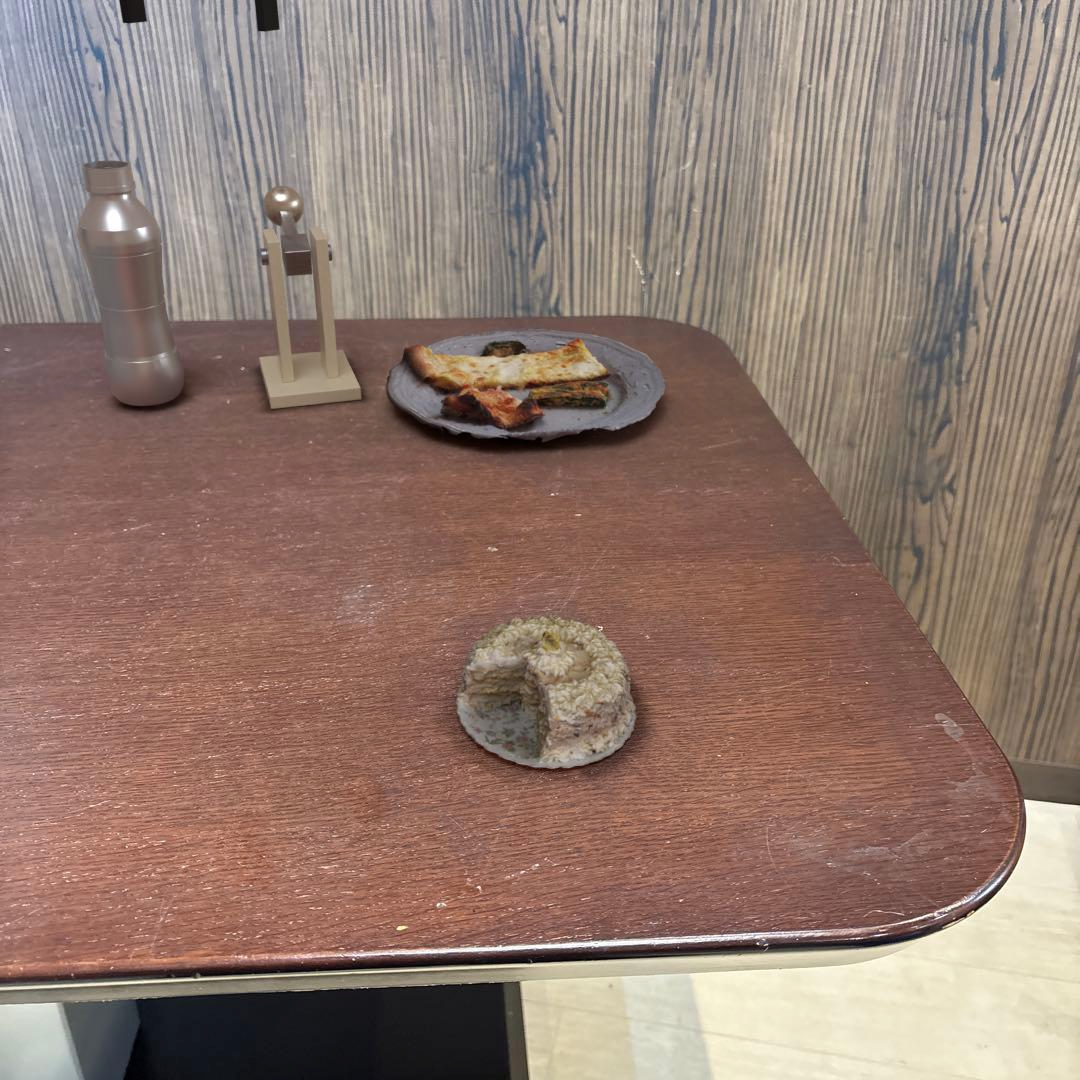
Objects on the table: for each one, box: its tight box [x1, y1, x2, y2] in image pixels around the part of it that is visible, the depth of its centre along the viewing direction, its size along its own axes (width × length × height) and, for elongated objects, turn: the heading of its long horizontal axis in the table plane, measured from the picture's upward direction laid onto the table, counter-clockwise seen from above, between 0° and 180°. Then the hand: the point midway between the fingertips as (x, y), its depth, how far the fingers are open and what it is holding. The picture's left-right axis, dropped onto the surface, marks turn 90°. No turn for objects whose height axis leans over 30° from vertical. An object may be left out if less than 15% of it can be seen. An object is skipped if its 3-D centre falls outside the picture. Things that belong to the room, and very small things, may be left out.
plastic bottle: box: [76, 160, 185, 407], centre depth 84 cm, size 6×7×20 cm
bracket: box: [258, 225, 362, 410], centre depth 90 cm, size 10×8×14 cm
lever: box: [262, 185, 313, 277], centre depth 90 cm, size 11×4×4 cm, turn 19°
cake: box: [454, 613, 637, 770], centre depth 54 cm, size 10×10×5 cm
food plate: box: [385, 327, 666, 443], centre depth 91 cm, size 25×23×4 cm
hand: (201, 26), depth 92 cm, fingers open, 13 cm apart
